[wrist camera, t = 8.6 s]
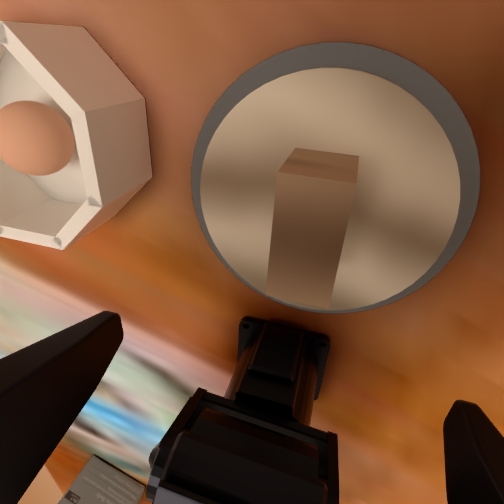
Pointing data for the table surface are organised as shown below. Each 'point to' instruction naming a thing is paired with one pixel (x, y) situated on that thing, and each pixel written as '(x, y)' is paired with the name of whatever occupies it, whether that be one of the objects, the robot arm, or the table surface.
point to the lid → (330, 189)
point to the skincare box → (102, 486)
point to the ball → (34, 138)
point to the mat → (377, 64)
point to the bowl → (84, 131)
